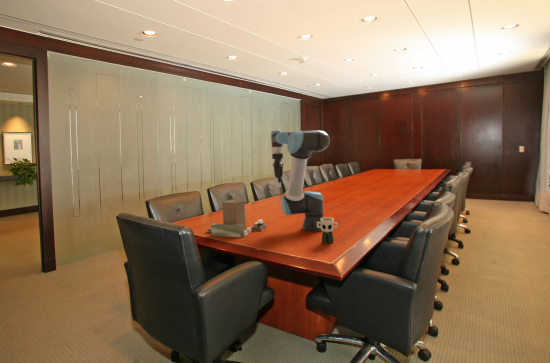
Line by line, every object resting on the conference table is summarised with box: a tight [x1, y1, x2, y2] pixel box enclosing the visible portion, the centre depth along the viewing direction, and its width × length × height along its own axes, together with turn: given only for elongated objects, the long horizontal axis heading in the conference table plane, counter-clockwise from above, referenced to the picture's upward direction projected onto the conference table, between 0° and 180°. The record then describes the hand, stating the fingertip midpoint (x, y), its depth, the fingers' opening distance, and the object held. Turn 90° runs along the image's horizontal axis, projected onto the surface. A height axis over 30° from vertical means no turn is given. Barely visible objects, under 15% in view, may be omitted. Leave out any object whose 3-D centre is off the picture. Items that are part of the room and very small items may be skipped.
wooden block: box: [221, 199, 247, 230], centre depth 190 cm, size 10×10×20 cm
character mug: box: [317, 216, 339, 244], centre depth 163 cm, size 11×7×13 cm, turn 77°
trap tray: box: [207, 218, 267, 238], centre depth 200 cm, size 35×33×7 cm
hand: (279, 187), depth 214 cm, fingers closed
